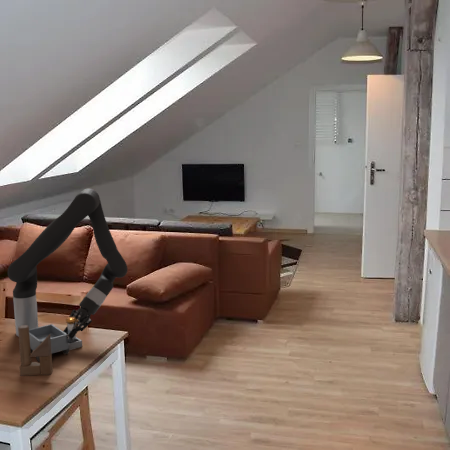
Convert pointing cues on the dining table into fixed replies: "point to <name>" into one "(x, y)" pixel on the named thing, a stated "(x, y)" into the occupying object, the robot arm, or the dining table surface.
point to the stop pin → (71, 325)
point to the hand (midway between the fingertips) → (67, 335)
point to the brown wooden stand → (34, 354)
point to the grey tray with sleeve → (52, 339)
